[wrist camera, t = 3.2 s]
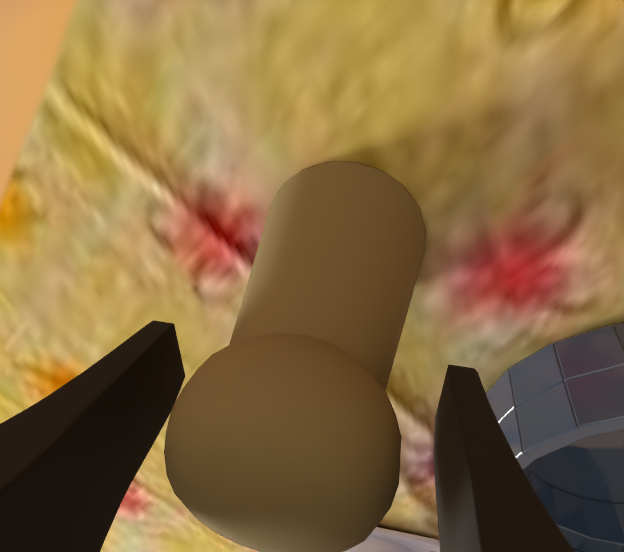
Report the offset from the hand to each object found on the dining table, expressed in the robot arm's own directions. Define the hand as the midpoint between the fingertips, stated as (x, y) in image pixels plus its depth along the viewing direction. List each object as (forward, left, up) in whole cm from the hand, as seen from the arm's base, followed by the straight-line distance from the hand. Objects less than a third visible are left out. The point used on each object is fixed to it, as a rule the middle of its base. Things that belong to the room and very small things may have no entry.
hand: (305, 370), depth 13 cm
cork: (0, 0, -7) cm, 7 cm away
